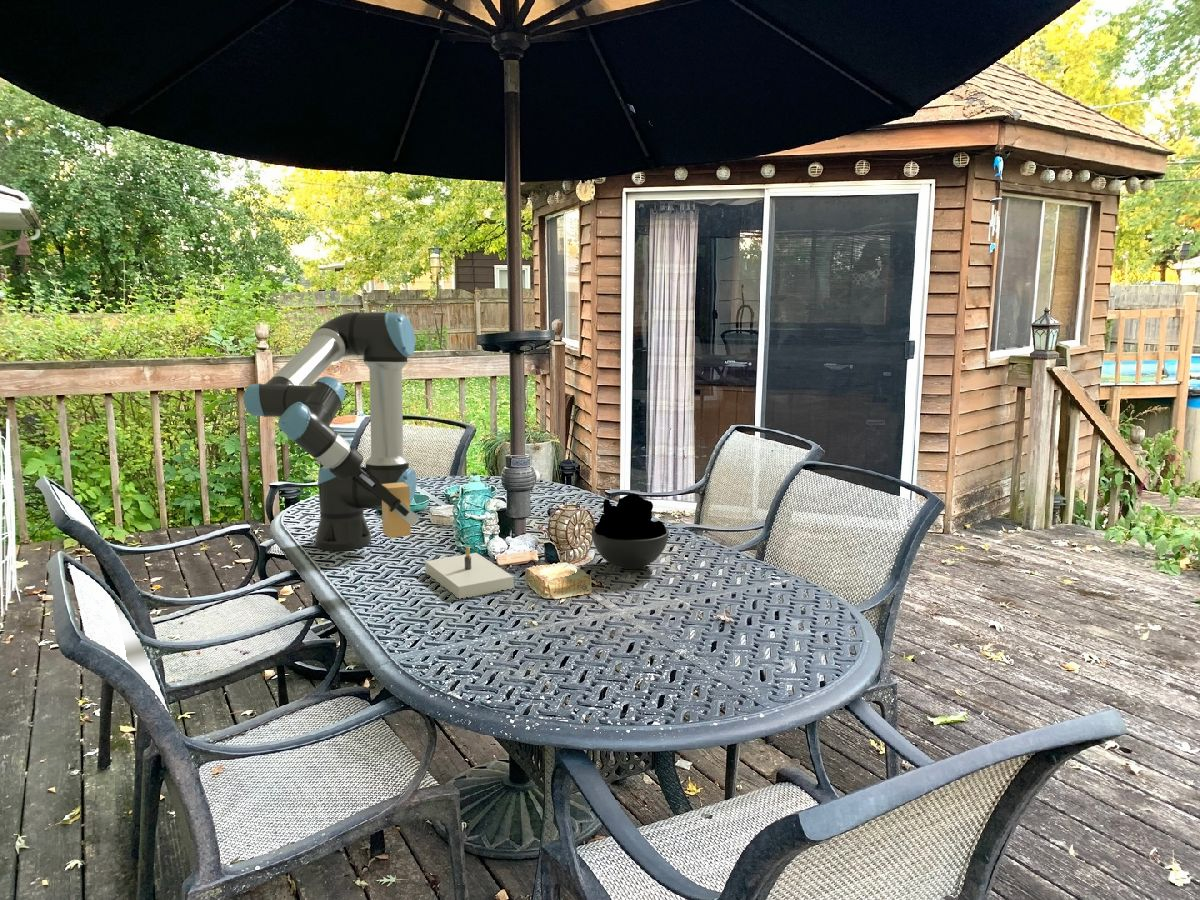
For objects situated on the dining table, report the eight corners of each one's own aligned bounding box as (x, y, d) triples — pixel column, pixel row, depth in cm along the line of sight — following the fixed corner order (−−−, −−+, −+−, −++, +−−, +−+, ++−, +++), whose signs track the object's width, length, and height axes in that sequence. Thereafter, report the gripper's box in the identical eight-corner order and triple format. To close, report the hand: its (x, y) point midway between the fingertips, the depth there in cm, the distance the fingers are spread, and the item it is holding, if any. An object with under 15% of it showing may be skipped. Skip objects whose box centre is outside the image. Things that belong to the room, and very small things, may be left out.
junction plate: (425, 572, 209) (424, 540, 208) (476, 563, 217) (475, 532, 215) (459, 599, 191) (458, 564, 189) (513, 588, 198) (513, 554, 197)
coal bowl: (668, 556, 224) (670, 489, 220) (667, 581, 204) (669, 507, 201) (595, 554, 225) (595, 487, 222) (587, 578, 206) (587, 505, 202)
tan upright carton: (382, 532, 199) (381, 484, 197) (403, 529, 201) (402, 482, 199) (389, 538, 194) (387, 488, 192) (410, 535, 197) (409, 486, 195)
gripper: (319, 463, 195) (389, 522, 206) (338, 477, 179) (413, 540, 191) (341, 439, 196) (409, 499, 208) (361, 451, 181) (434, 515, 192)
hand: (411, 518), depth 199 cm, fingers closed on tan upright carton, 5 cm apart
